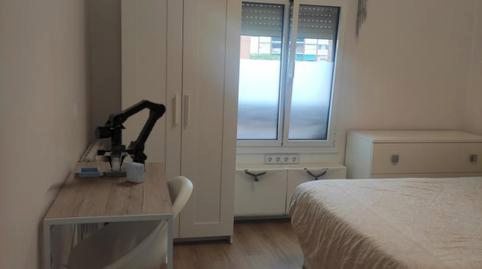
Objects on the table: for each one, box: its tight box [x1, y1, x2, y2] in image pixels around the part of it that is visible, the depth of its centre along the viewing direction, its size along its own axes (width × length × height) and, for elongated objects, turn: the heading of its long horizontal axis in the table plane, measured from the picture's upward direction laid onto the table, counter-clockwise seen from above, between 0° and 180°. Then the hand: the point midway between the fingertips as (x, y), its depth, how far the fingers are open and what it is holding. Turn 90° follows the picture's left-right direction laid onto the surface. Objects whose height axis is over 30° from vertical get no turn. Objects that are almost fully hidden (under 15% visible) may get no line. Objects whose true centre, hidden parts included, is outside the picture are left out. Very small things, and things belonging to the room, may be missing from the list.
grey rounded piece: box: [111, 157, 121, 171], centre depth 227 cm, size 4×4×8 cm
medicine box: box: [126, 161, 145, 184], centre depth 214 cm, size 8×4×9 cm, turn 58°
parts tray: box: [78, 166, 101, 179], centre depth 223 cm, size 10×12×2 cm
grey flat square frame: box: [104, 167, 127, 177], centre depth 227 cm, size 10×10×2 cm
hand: (116, 167), depth 227 cm, fingers open, 4 cm apart
